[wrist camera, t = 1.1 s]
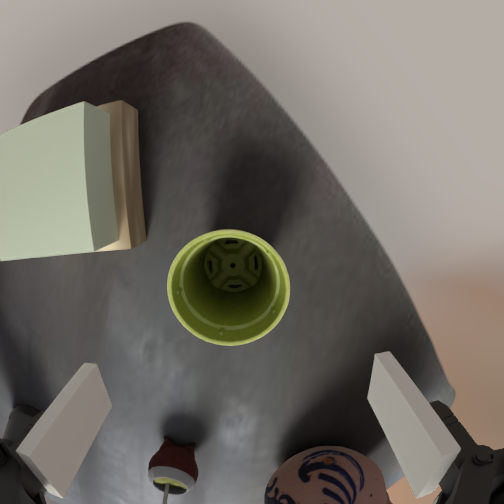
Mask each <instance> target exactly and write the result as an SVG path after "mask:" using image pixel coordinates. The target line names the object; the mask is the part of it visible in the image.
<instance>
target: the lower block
mask: <svg viewBox="0 0 504 504" xmlns="http://www.w3.org/2000/svg"><path fill="white" fill-rule="evenodd" d="M96 107H98V108H100V109H102V110H104V111H106V112H108V113H110V145H111V165H112V180H113V192H114V203H115V212H116V221H117V229H118V236H119V240H118V241H116V242H114V243H112V244H110V245H108V246H105V247H103V248H101V249H99V250H97V251H95V252H98V251H110V250H122V249H132V248H133V247H135V246H137V245H139V244H141V243H142V242H144V241H146V240H147V238H146V230H145V221H144V211H143V201H142V189H141V176H140V160H139V137H138V110H137V109H135V108H134V107H132V106H130V105H129V104H127V103H126V102H124V101H123V100H119V101H115V102H111V103H107V104H103V105H99V106H96Z"/></svg>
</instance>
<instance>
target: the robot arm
mask: <svg viewBox="0 0 504 504" xmlns="http://www.w3.org/2000/svg"><path fill="white" fill-rule="evenodd" d="M367 399H368V401H369V403H370V405H371V407H372V409H373V411H374V413H375V415H376V417H377V419H378V421H379V423H380V425H381V427H382V429H383V431H384V433H385V435H386V437H387V439H388V441H389V443H390V445H391V447H392V449H393V451H394V453H395V455H396V458H397V460H398V462H399V464H400V466H401V468H402V470H403V472H404V474H405V477H406V479H407V481H408V483H409V485H410V487H411V489H412V492H413V494H414V496H415V498H416V499H417V498H420V497H422V496H425V495H428V494H430V493H432V492H434V490H435V489H436V488H437V486H438V485H440V486H441V489H442V491H441V492H440V494H439V495H438V496H437V498H436V499H435V501H434V502H433V504H435V503H436V502H437V503H436V504H504V448H503V449H499V450H493V449H491V448H490V447H488V446H485V445H477V444H476V443H475V442H474V440H473V439H472V437H471V436H470V435H469V434H468V432H467V431H466V429H465V428H464V427H463V426H462V424H461V423H460V422H458V419H457V418H456V416H454V414H453V413H452V411H451V410H450V409H449V407H448V406H446V405H445V404H443V403H442V402H440V401H438V400H437V401H434V402H431V403H428V401H427V400H426V399H425V397H424V396H423V394H422V393H421V392H420V390H419V389H418V388H417V386H416V385H415V384H414V382H413V381H412V380H411V378H410V377H409V376H408V374H407V373H406V372H405V371H404V369H403V368H402V367H401V365H400V364H399V363H398V361H397V360H396V359H395V358H394V356H393V355H392V354H391V352H390V351H388V352H382V353H377V354H375V357H374V363H373V369H372V375H371V381H370V386H369V392H368V397H367ZM111 408H112V404H111V401H110V399H109V396H108V394H107V391H106V388H105V386H104V383H103V380H102V378H101V375H100V372H99V369H98V366H97V364H92V363H84V364H83V365H82V366H81V367H80V369H79V370H78V371H77V372H76V374H75V375H74V376H73V377H72V378H71V380H70V381H69V382H68V383H67V385H66V386H65V387H64V388H63V389H62V391H61V392H60V393H59V394H58V396H57V397H56V398H55V399H54V401H53V402H52V403H51V405H50V406H49V407H48V408H47V410H46V411H41V412H39V411H37V410H36V409H34V408H31V407H29V406H26V405H18V406H16V407H15V409H14V410H13V411H12V412H11V413H10V416H9V421H8V424H7V427H6V430H5V433H4V436H3V438H2V439H1V438H0V504H46V501H45V498H44V495H45V493H46V491H48V492H49V493H51V494H53V495H56V496H58V497H61V498H63V499H64V497H65V495H66V493H67V491H68V489H69V487H70V485H71V483H72V481H73V479H74V477H75V475H76V473H77V471H78V469H79V467H80V465H81V463H82V461H83V460H84V458H85V456H86V454H87V452H88V450H89V448H90V446H91V444H92V443H93V441H94V439H95V437H96V435H97V433H98V431H99V430H100V428H101V426H102V424H103V422H104V420H105V419H106V417H107V415H108V413H109V411H110V410H111Z"/></svg>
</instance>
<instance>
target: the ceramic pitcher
mask: <svg viewBox="0 0 504 504" xmlns="http://www.w3.org/2000/svg"><path fill="white" fill-rule="evenodd" d="M265 504H392V503H391V501H390V500H389V496H388V493H387V491H386V487H385V482H384V478H383V475H382V473H381V471H380V469H379V468H378V466H377V465H376V464H375V463H374V462H373V461H372V460H371V459H369V458H368V457H366V456H364V455H363V454H361V453H359V452H357V451H355V450H352V449H349V448H345V447H340V446H319V447H314V448H311V449H307V450H305V451H303V452H300V453H298V454H296V455H294V456H293V457H291V458H290V459H288V460H286V461H285V462H284V463H283V464H282V465H281V466H280V467H279V468H278V469H277V470H276V471H275V473H274V474H273V475H272V477H271V478H270V480H269V483H268V484H267V487H266V491H265Z"/></svg>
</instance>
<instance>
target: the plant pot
mask: <svg viewBox="0 0 504 504" xmlns="http://www.w3.org/2000/svg"><path fill="white" fill-rule="evenodd" d="M227 240H237V241H238V243H237V244H236V243H230V244H224V243H225V241H227ZM254 256H255V257H257V262H258V268H257V269H255V262H254ZM210 260H211V261H212V271H213V273H211V272H210V271H209V266H208V262H209V261H210ZM231 263H235V267H234V268H232V267H231ZM240 284H241V286H240V287H238V288H230V287H229V285H240ZM167 291H168V298H169V302H170V305H171V308H172V310H173V312H174V314H175V315H176V317H177V318H178V320H179V321H180V322H181V324H182V325H183V326H184V327H185V328H186V329H187V330H188V331H190V332H191V333H192V334H194V335H195V336H197V337H199V338H201V339H203V340H205V341H207V342H210V343H214V344H218V345H228V346H232V345H241V344H246V343H249V342H252V341H254V340H257V339H259V338H261V337H263V336H264V335H266V334H267V333H268V332H270V331H271V330H272V329H273V328H274V327H275V326H276V325H277V324H278V322H279V321H280V320H281V318H282V316H283V315H284V313H285V311H286V308H287V305H288V302H289V297H290V280H289V275H288V271H287V269H286V266H285V264H284V262H283V260H282V258H281V257H280V255H279V254H278V253H277V252H276V250H275V249H274V248H273V247H272V246H271V245H270V244H268V243H267V242H266V241H264V240H263V239H261V238H260V237H258V236H256V235H254V234H251V233H248V232H245V231H241V230H233V229H223V230H216V231H212V232H208V233H206V234H203V235H201V236H199V237H197V238H195V239H193V240H192V241H190V242H189V243H188V244H187V245H186V246H184V247H183V248H182V250H181V251H180V252H179V253H178V254H177V256H176V257H175V259H174V261H173V263H172V265H171V267H170V270H169V274H168V280H167Z"/></svg>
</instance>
